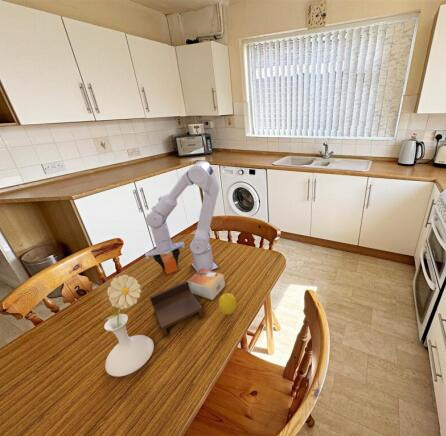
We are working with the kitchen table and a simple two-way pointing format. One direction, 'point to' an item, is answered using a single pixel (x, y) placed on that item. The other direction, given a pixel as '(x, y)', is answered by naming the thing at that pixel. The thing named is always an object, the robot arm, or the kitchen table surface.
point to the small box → (206, 283)
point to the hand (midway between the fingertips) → (170, 266)
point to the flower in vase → (128, 346)
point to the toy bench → (175, 305)
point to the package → (169, 264)
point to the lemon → (227, 304)
